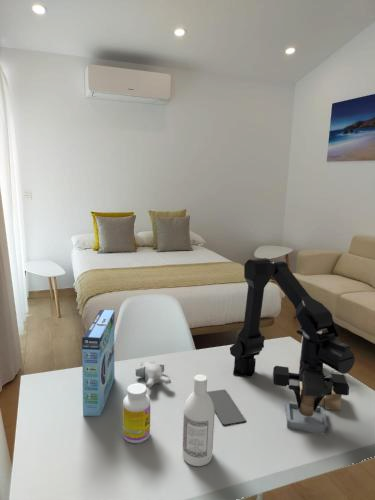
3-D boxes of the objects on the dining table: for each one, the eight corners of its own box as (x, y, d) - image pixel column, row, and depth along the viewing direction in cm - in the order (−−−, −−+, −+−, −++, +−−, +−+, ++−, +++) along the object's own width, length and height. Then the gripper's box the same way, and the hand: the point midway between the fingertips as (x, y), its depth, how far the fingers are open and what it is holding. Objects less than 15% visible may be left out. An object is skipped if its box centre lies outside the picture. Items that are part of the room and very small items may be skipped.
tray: (287, 427, 95) (287, 421, 95) (285, 407, 104) (286, 401, 103) (327, 434, 93) (328, 427, 93) (322, 413, 102) (323, 406, 101)
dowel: (298, 406, 100) (300, 387, 99) (312, 409, 99) (314, 389, 98) (299, 415, 96) (301, 394, 95) (313, 417, 96) (316, 396, 94)
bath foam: (195, 440, 89) (198, 366, 85) (218, 455, 85) (222, 377, 81) (176, 456, 84) (178, 377, 80) (199, 472, 80) (203, 390, 76)
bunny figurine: (159, 355, 123) (174, 373, 109) (159, 370, 123) (174, 389, 109) (132, 360, 119) (143, 378, 106) (132, 375, 120) (144, 395, 106)
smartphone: (223, 425, 95) (204, 391, 109) (222, 428, 95) (204, 394, 109) (247, 421, 97) (225, 388, 111) (246, 424, 97) (225, 391, 111)
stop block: (324, 408, 104) (326, 392, 103) (320, 392, 111) (322, 377, 110) (339, 410, 103) (341, 394, 102) (334, 394, 111) (336, 379, 110)
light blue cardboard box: (99, 377, 116) (98, 309, 111) (115, 377, 116) (115, 309, 111) (82, 416, 97) (80, 336, 92) (101, 417, 97) (100, 337, 92)
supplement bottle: (148, 445, 87) (148, 397, 85) (120, 444, 87) (120, 396, 85) (151, 426, 94) (152, 381, 91) (125, 425, 94) (125, 380, 91)
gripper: (276, 365, 89) (271, 421, 92) (358, 376, 85) (349, 434, 88) (275, 345, 99) (270, 396, 102) (347, 354, 96) (340, 407, 99)
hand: (306, 408), depth 98 cm, fingers closed on dowel, 3 cm apart
